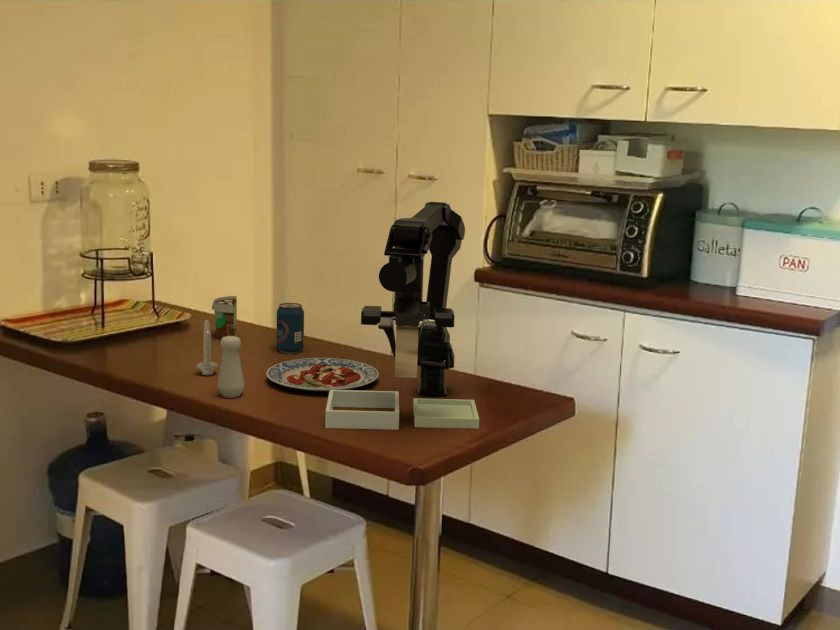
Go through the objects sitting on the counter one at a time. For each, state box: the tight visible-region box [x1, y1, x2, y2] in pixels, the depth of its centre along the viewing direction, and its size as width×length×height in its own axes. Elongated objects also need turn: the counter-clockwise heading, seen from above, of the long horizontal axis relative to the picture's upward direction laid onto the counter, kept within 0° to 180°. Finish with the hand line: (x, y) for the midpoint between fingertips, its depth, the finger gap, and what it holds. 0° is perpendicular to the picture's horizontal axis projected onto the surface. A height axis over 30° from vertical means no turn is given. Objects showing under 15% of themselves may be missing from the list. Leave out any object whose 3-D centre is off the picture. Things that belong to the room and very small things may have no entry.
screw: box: [196, 319, 219, 376], centre depth 233 cm, size 13×5×5 cm
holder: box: [324, 389, 400, 431], centre depth 207 cm, size 15×15×4 cm
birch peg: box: [394, 324, 419, 379], centre depth 205 cm, size 4×4×10 cm
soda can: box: [276, 302, 305, 355], centre depth 256 cm, size 7×7×12 cm
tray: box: [412, 397, 480, 430], centre depth 209 cm, size 13×13×2 cm
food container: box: [211, 295, 238, 341], centre depth 268 cm, size 12×6×10 cm, turn 6°
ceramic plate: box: [266, 357, 379, 392], centre depth 232 cm, size 26×26×3 cm
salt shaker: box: [217, 336, 246, 399], centre depth 218 cm, size 6×6×13 cm
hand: (406, 357), depth 205 cm, fingers closed on birch peg, 4 cm apart
